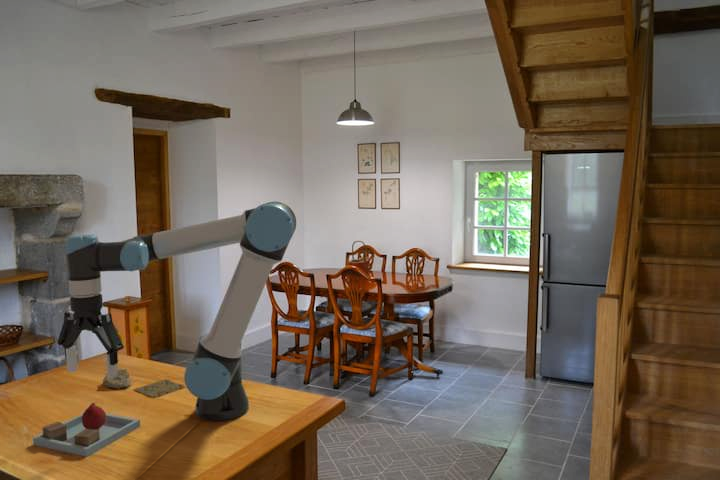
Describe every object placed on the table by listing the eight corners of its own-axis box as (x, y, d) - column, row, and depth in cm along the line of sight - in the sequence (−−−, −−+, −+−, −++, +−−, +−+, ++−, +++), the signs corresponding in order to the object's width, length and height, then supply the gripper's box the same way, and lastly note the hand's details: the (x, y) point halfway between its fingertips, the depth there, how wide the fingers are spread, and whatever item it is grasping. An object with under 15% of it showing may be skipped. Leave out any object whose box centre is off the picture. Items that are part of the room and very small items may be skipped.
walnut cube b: (67, 440, 148) (66, 425, 147) (51, 446, 144) (50, 430, 144) (59, 435, 150) (58, 421, 150) (43, 441, 147) (42, 426, 146)
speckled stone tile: (165, 380, 193) (164, 377, 193) (186, 388, 186) (186, 385, 186) (132, 391, 184) (132, 388, 184) (153, 400, 176) (153, 397, 176)
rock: (100, 383, 190) (102, 387, 181) (104, 365, 191) (106, 369, 182) (128, 386, 194) (131, 390, 185) (131, 368, 195) (134, 371, 186)
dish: (140, 428, 155) (139, 419, 155) (87, 459, 139) (86, 449, 139) (90, 418, 162) (89, 410, 162) (33, 446, 145) (32, 437, 145)
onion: (97, 436, 149) (94, 407, 148) (78, 436, 150) (75, 407, 149) (111, 427, 154) (108, 398, 154) (93, 427, 156) (89, 398, 155)
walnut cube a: (100, 445, 145) (99, 429, 144) (89, 452, 141) (88, 437, 140) (85, 443, 146) (85, 428, 145) (75, 451, 142) (74, 435, 141)
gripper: (134, 294, 147) (140, 373, 149) (62, 289, 156) (68, 364, 158) (112, 300, 140) (118, 384, 142) (38, 294, 149) (45, 373, 151)
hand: (92, 373), depth 150 cm, fingers open, 13 cm apart
